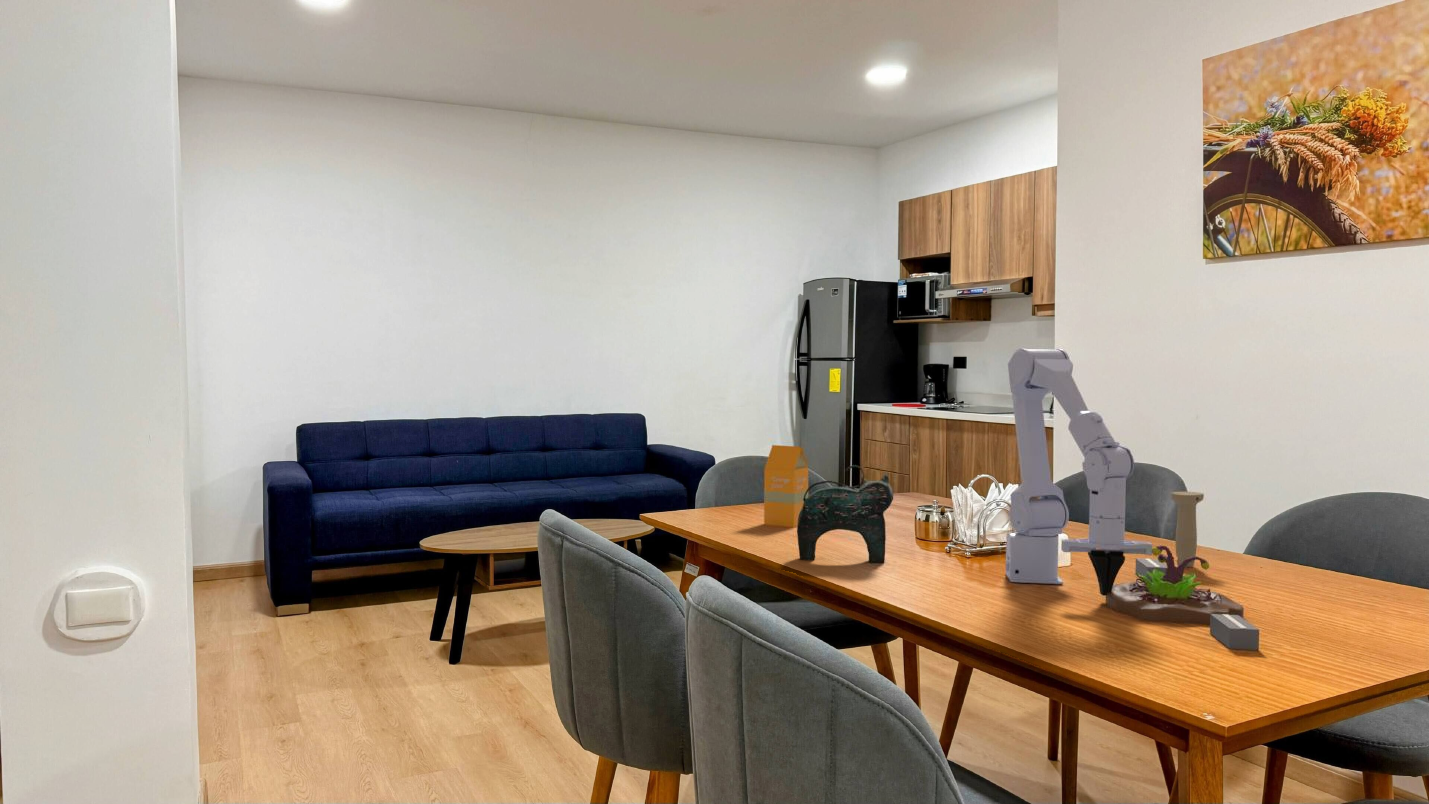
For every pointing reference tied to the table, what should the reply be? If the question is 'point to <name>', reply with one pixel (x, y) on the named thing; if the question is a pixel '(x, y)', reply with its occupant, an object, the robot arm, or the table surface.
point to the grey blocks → (1214, 616)
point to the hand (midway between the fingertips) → (1105, 594)
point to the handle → (1186, 525)
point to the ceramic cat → (846, 515)
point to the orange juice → (784, 485)
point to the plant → (1170, 595)
